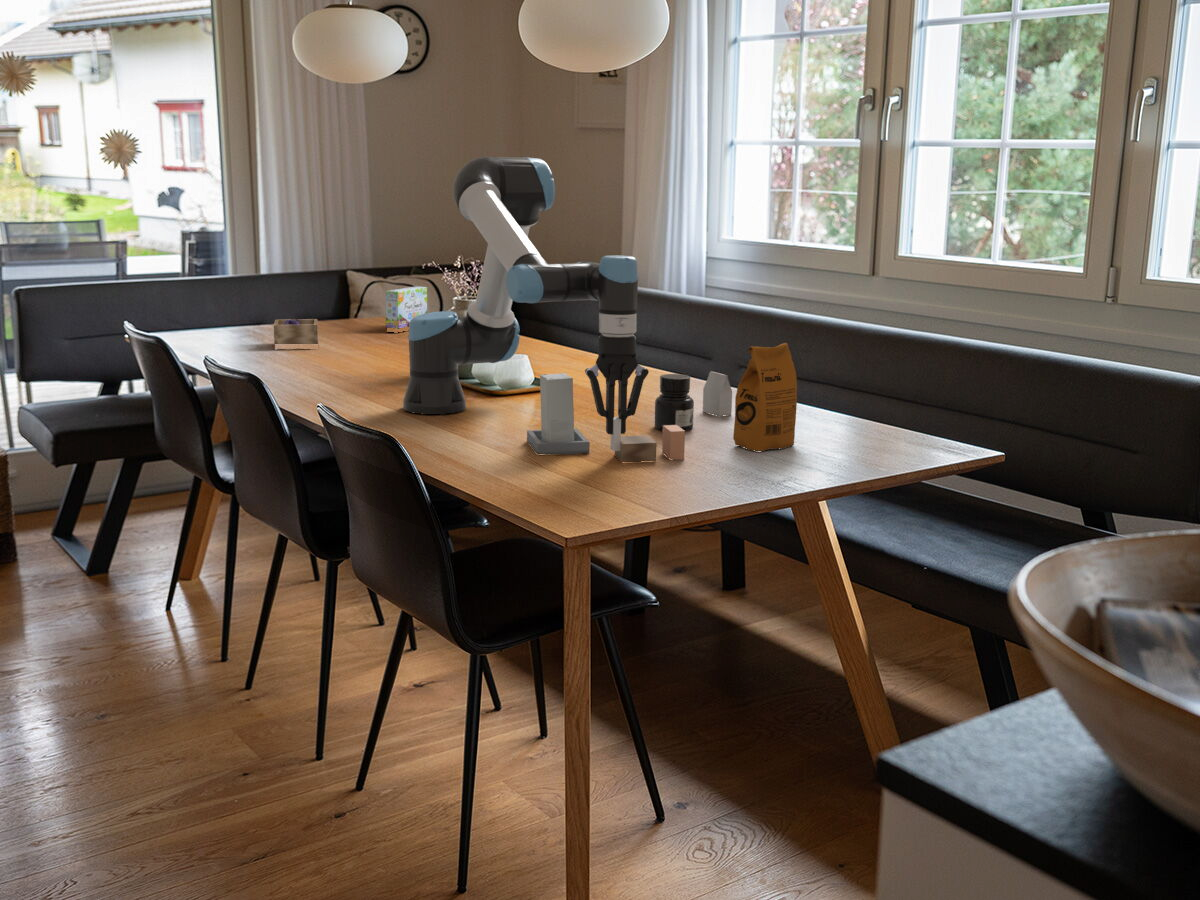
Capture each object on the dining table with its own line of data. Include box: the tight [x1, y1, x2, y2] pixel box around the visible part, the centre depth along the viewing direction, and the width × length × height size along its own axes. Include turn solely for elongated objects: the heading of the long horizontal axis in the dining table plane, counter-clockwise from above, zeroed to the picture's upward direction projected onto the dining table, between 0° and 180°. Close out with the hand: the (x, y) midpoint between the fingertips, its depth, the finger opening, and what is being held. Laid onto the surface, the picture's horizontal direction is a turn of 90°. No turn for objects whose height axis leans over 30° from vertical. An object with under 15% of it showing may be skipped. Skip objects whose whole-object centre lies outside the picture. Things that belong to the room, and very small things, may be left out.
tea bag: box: [702, 371, 733, 417], centre depth 287 cm, size 4×7×10 cm, turn 30°
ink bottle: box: [654, 373, 695, 431], centre depth 270 cm, size 10×9×12 cm
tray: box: [526, 428, 590, 455], centre depth 251 cm, size 11×13×2 cm
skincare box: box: [539, 372, 575, 442], centre depth 249 cm, size 8×6×15 cm
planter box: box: [273, 318, 319, 345], centre depth 385 cm, size 14×14×8 cm
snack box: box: [385, 285, 428, 329], centre depth 427 cm, size 21×6×15 cm, turn 159°
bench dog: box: [661, 425, 686, 460], centre depth 244 cm, size 3×6×6 cm, turn 13°
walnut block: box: [614, 435, 658, 463], centre depth 242 cm, size 7×7×4 cm
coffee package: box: [732, 342, 798, 452], centre depth 252 cm, size 10×12×22 cm
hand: (615, 449), depth 241 cm, fingers closed
